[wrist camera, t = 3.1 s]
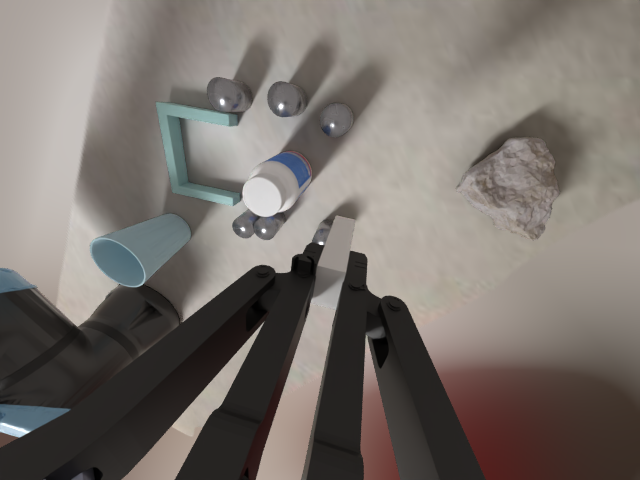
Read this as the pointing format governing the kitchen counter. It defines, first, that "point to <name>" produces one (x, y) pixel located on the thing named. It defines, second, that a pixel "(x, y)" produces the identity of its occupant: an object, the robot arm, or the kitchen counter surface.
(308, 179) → the pill bottle
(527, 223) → the stone
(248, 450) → the robot arm
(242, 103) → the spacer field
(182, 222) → the cup
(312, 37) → the kitchen counter surface
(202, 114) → the teal bay
